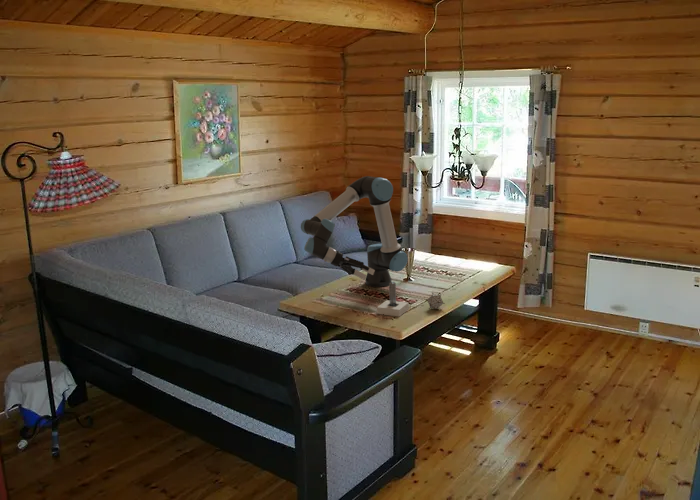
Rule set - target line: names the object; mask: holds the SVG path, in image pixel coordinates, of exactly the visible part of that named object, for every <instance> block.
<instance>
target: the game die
mask: <svg viewBox="0 0 700 500" xmlns="http://www.w3.org/2000/svg"><path fill="white" fill-rule="evenodd" d="M441 296H442V294H435V293H434V292H432V294H431V295H430V296H429V297H428V298H426V299H425V300H426V302H427V303H428V306H429V308H428V309H429V310H431V309H434V310H436V311H439V308H440V307H441V306H442V305H443V304H445V302H444V301H443V299H442V297H441Z"/></svg>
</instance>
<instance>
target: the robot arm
mask: <svg viewBox="0 0 700 500" xmlns="http://www.w3.org/2000/svg"><path fill="white" fill-rule="evenodd" d="M393 194H394V185H393V184H392V183H391V181H390V180H388V179H387V178H384V177H377V176H370V175H369V176H368V175H365V176H362V177H360V178H358V179H356V180H355V181H353V182H352V183H350V184H349V185H348V186H347V187H346V188H345V191H343V193H341V194H340V195H339V196H337V197H336V198H335V199H333V200H332V201H331V202H330V203H328V204H327V205H326V206H325V207H324V208H322V209H321V210H319V211H318V213H316V214H315V215H314V216H312V217H311V218H310V219H309V218H307V219H304V220H302V221H301V223H300V230H301V232H302V233H304V234H307V235H309V236H310V235H311V236H313V237H311V236H310V237H309V238H308V239H307V241H306V243H305V244H304V252H307V253H309V254H311V255H312V256H314V257H317V258H319V259H321V260H323V261H324V263H326V262H327V263H328V264H330V265H333V266H335V267H338V268H340V269H342V270H343V271H344V272H346V273H347V274H348V275H353V276H355V277H358V278H360V279H362V280H363V281H364V280H365V285H366V286H368V287H376V288H379V287H380V288H381V287H387V286H389V283H390V282H393V281H392V277H391V276H392V275H390V271H391V272H396V273H397V272H401V271H403V270H404V268H406V266H407V264H408V261H409V259H408V254H407V253H406V252H405V251H403V250H402V245H401V244H400V243H398V238H397V235H396V230H395V226H394V224H395V223H394V220H393V217H392V212H391V206H390V202H391V201H392V196H393ZM364 198H367V199H368V202H369V205H370V206H371V207H372V208H373V211H374V214H375V220H376V224H377V228H378V233H379V237H380V242H381V243H374V244H370V245H368V246H367V250H366V254H367V265H366V264H365V263H364V262H363V261H361V260H359V259H358V260H357V259H354V258H351V257H349V256H345V257H344V253H343V252H340V251H339V250H336V249H335V248H333V247H331V246H328V242H329V240H330V238H331V236H332V235H333V233H334V229H335V228H336V224H335V223H334V222H333V221H332V220H333V219H335V218H336V217H337V216H339V215H340V214H341V213H342V212H343V211H344V210H346V209H347V208H348V207H349V206H351V205H352V204H353V203H354V202H359V201H360V200H362V199H364ZM356 268H358V269H359V270H360V271H359V270H358V269H356ZM362 271H364V272H366V273H363V272H362Z"/></svg>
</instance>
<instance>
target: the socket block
mask: <svg viewBox="0 0 700 500" xmlns="http://www.w3.org/2000/svg"><path fill="white" fill-rule="evenodd" d="M409 307H410V306H409V302H407V301H400V300H399V301H397V300H396V307H392V306H390V299H389V300H385V301H384V302H382V303H381V304H380V305H378V306H377V307H376V308H377V309H376V311H377V312H376V313H377V315H383V314H384V315H385V316H392V317H401V316H403V314H405V313H406V312H407V311H408V310H409Z"/></svg>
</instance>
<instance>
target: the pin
mask: <svg viewBox="0 0 700 500" xmlns="http://www.w3.org/2000/svg"><path fill="white" fill-rule="evenodd" d="M396 283H397V282H395V281H392V282H390V283H389V285H388V286H389V287H388V289H389V300H390V306H392V307H396V301H397V291H396V290H397V288H396V287H397V286H396V285H397V284H396Z"/></svg>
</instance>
